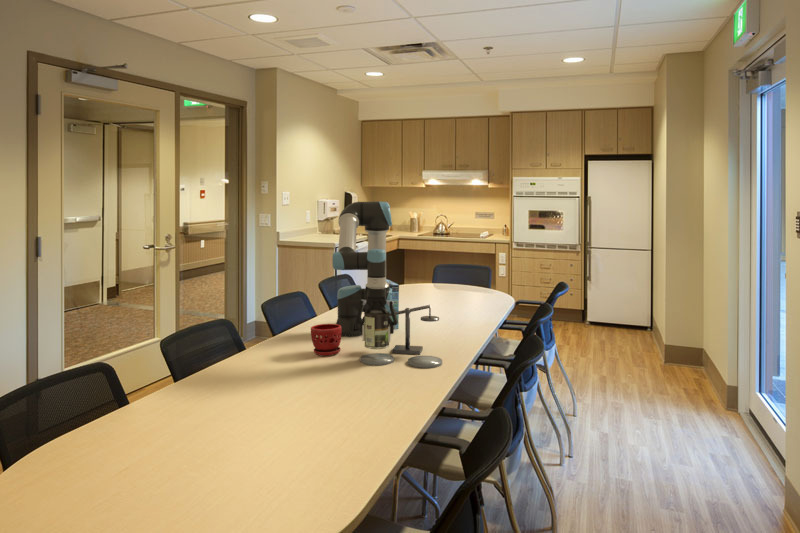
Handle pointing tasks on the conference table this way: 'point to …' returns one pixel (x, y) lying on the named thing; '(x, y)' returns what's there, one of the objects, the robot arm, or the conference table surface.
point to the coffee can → (376, 329)
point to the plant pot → (326, 339)
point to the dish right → (425, 361)
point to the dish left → (377, 359)
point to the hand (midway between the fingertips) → (376, 340)
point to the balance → (407, 348)
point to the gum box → (394, 299)
